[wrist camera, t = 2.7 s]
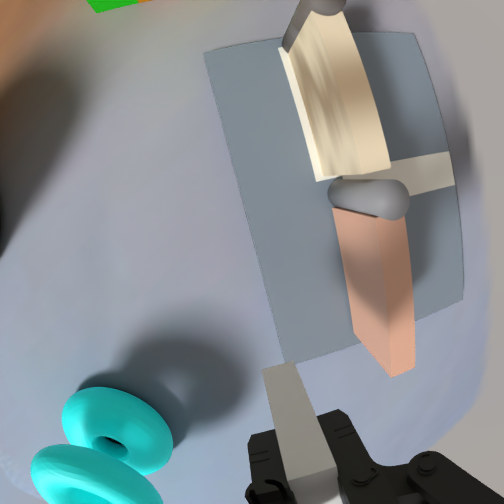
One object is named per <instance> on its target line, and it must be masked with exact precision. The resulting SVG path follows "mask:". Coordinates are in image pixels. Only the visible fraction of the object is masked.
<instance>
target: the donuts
mask: <svg viewBox="0 0 504 504" xmlns="http://www.w3.org/2000/svg"><path fill="white" fill-rule="evenodd" d="M62 425H63V429H64V432H65V434H66V437H67V439H68V440H69V442H70V443H71V445H69V444H59V445H52V446H48V447H46V448H44V449H42V450H40V451H39V452H38V453H37V454H36V455H35V456H34V458H33V460H32V463H31V477H32V480H33V482H34V485H35V487H36V488H37V490H38V492H39V493H40V494H41V496H42V497H43V498H44V499H45V500H46V501H47V502H48V503H49V504H163V501H162V499H161V497H160V495H159V493H158V491H157V490H156V489H155V488H154V486H153V485H152V484H151V483H150V482H149V481H148V480H147V479H146V478H145V477H144V475H148V474H151V473H154V472H156V471H158V470H159V469H161V468H162V467H163V466H164V465H165V464H166V463H167V462H168V461H169V459H170V457H171V454H172V451H173V439H172V435H171V432H170V429H169V427H168V425H167V424H166V422H165V421H164V419H163V418H162V417H161V416H160V414H159V413H158V412H157V411H156V410H154V409H153V408H152V407H151V406H150V405H148V404H147V403H145V402H144V401H142V400H141V399H139V398H137V397H135V396H133V395H131V394H129V393H126V392H124V391H120V390H117V389H113V388H107V387H91V388H86V389H83V390H80V391H78V392H76V393H75V394H73V395H72V396H71V397H70V398H69V399H68V400H67V402H66V403H65V405H64V408H63V412H62ZM105 437H109V438H112V439H115V440H117V441H119V442H120V443H122V444H123V445H120V444H117V443H114V442H111V441H110V440H108V439H106V438H105Z"/></svg>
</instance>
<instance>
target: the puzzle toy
mask: <svg viewBox="0 0 504 504" xmlns="http://www.w3.org/2000/svg"><path fill="white" fill-rule="evenodd" d="M146 1H151V0H87V2H88V3H89V4H90V5H91V7H92V8H93V9H94V11H95V12H96V13H100V12H103V11H107V10H111V9H115V8H119V7H123V6H127V5H132V4H136V3H141V2H146Z"/></svg>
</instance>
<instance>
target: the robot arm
mask: <svg viewBox="0 0 504 504" xmlns="http://www.w3.org/2000/svg"><path fill="white" fill-rule="evenodd" d="M262 373H263V378H264V382H265V387H266V391H267V395H268V400H269V404H270V409H271V413H272V417H273V422H274V426H275V429H273V430H269V431H265V432H261V433H257V434H253V435H251V437H250V440H249V442H248V454H249V462H250V470H251V478H252V483H251V484H250V485H249V486H248V488H247V489H246V492H245V498H246V500H247V501H248V503H249V504H342V503H343V504H504V498H503V497H502V496H500V495H499V494H497V493H496V492H494V491H493V490H492V489H490V488H489V487H487V486H485V485H484V484H483V483H481V482H480V481H478V480H477V479H476V478H474V477H473V476H471V475H470V474H469V473H467V472H466V471H464V470H463V469H461V468H460V467H459V466H457V465H456V464H455V463H453V462H452V461H451V460H449V459H448V458H446V457H445V456H444V455H442V454H440V453H438V452H436V451H426V452H421V453H419V454H418V455H416V456H414V457H413V458H412V459H411V460H410V462H409V463H408V464H403V465H397V466H382V465H379V464H377V463H376V462H374V461H373V460H372V459H371V457H370V456H369V454H368V452H367V450H366V448H365V446H364V445H363V443H362V441H361V439H360V437H359V435H358V433H357V432H356V430H355V428H354V426H353V425H352V422H351V420H350V419H349V417H348V415H347V414H345V413H344V412H342V411H341V410H339V409H337V410H334V411H331V412H328V413H325V414H322V415H319V416H316V415H315V412H314V410H313V407H312V405H311V402H310V400H309V397H308V395H307V393H306V390H305V388H304V385H303V383H302V380H301V378H300V376H299V373H298V371H297V368H296V366H295V363H294V361H290V362H287V363H283V364H280V365H276V366H273V367H269V368H266V369H262Z"/></svg>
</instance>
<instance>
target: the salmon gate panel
mask: <svg viewBox="0 0 504 504" xmlns="http://www.w3.org/2000/svg"><path fill="white" fill-rule="evenodd" d="M327 195H328V199H329V201H330V203H331V204H332V205H333V206H335V207H332V211H333V216H334V221H335V225H336V230H337V235H338V240H339V246H340V251H341V256H342V262H343V267H344V273H345V279H346V285H347V291H348V297H349V303H350V310H351V317H352V324H353V331H354V334H355V335H356V336H357V337H358V338H359V340H360V341H361V342H362V343H363V344H364V346H365V347H366V348H367V349H368V350H369V352H370V353H371V354H372V355H373V356H374V358H375V359H376V360H377V361H378V362H379V364H380V365H381V366H382V367H383V368H384V370H385V371H386V372H387V373H388V375H389V376H390V377H391V378H392V377H394V376H396V375H399V374H401V373H403V372H406V371H408V370H410V369H412V368H414V367H415V322H414V301H413V286H412V274H411V263H410V254H409V245H408V237H407V230H406V223H405V216H404V215H405V214H406V212H407V211H408V208H409V205H410V196H409V192H408V190H407V188H406V186H405V185H404V184H403V183H402V182H400V181H398V180H394V179H339V180H336V181H334V182H332V183H331V184H330V186H329V188H328V192H327Z"/></svg>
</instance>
